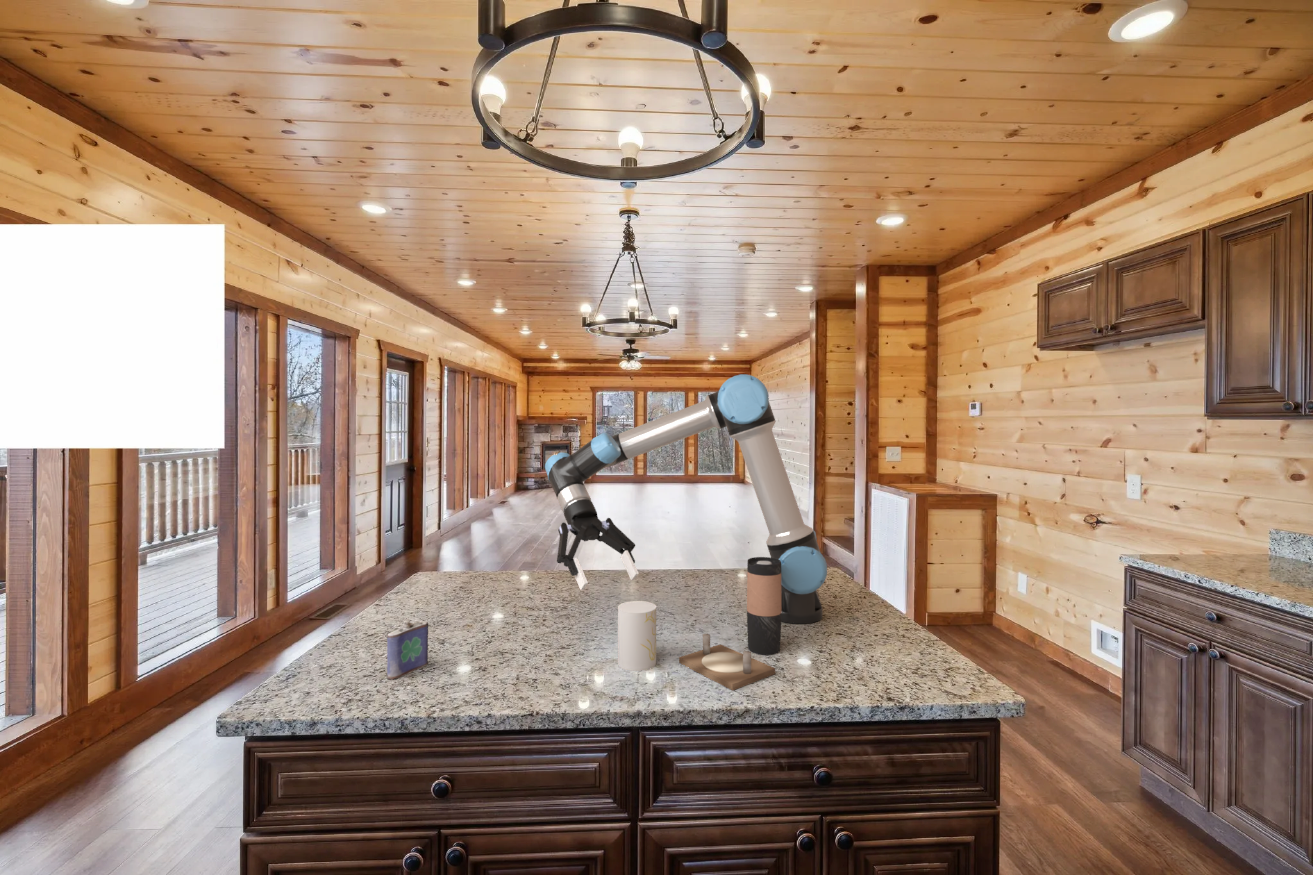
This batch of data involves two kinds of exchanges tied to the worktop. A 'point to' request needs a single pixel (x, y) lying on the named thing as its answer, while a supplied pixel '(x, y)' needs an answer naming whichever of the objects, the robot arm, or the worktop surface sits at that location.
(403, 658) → the flask
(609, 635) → the worktop surface
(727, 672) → the tray
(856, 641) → the worktop surface
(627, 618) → the cup
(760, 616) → the travel mug
